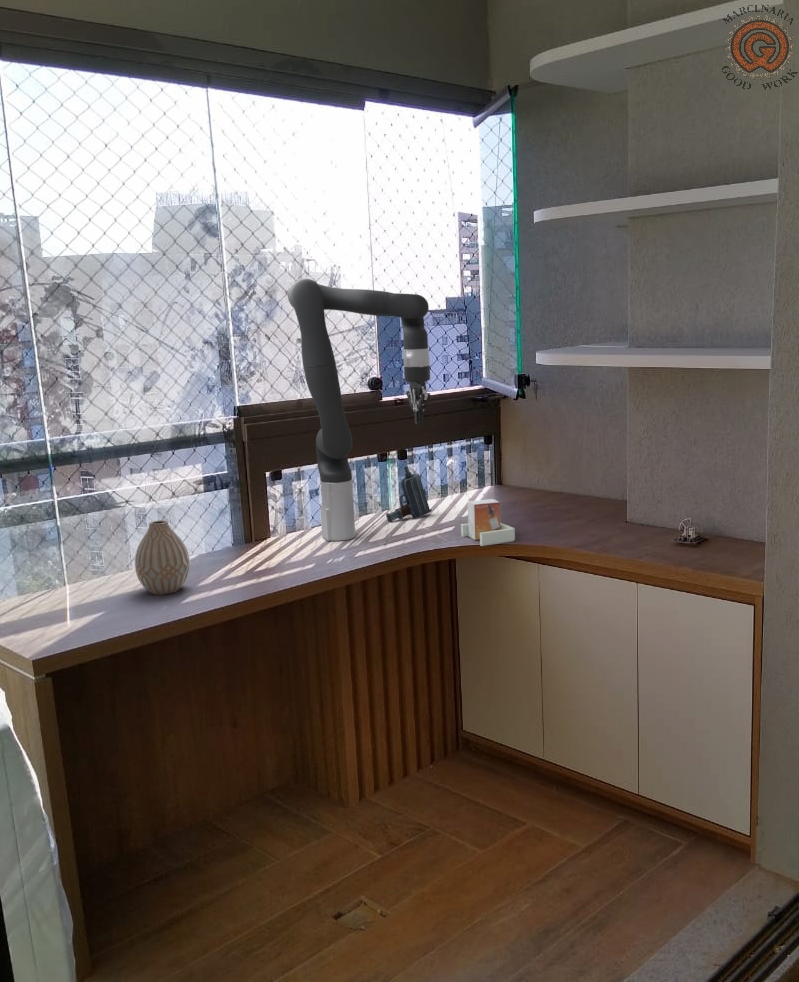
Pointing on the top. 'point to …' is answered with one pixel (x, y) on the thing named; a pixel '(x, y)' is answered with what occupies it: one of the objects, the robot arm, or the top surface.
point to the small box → (483, 517)
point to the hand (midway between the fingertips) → (419, 423)
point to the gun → (411, 498)
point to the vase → (162, 559)
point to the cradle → (493, 535)
